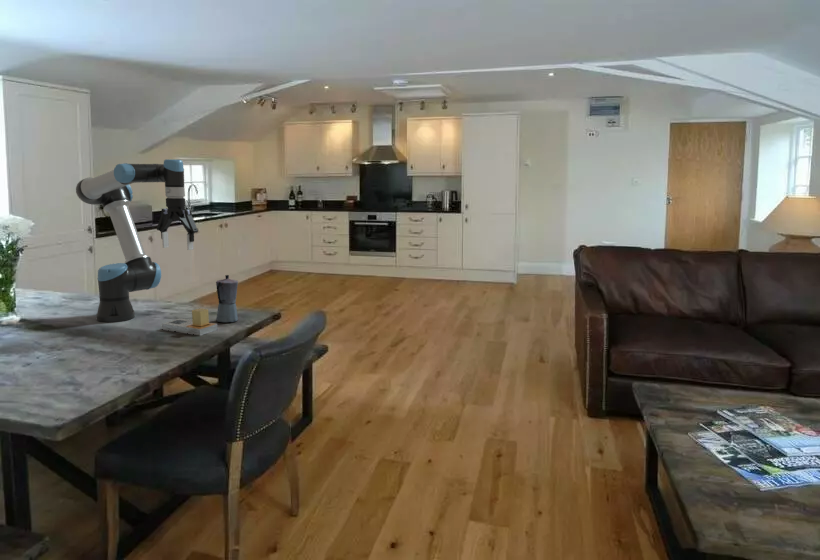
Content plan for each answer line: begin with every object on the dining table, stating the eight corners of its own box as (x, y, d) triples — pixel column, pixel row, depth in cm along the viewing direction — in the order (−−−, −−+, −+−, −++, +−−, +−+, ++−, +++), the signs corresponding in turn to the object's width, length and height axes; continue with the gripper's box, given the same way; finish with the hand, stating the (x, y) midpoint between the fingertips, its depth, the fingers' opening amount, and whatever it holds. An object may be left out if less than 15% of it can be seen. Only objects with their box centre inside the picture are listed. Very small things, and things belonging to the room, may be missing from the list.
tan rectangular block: (193, 332, 251) (191, 310, 249) (200, 329, 255) (199, 308, 253) (201, 333, 249) (200, 311, 248) (209, 330, 253) (208, 309, 252)
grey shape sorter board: (162, 329, 254) (161, 323, 254) (180, 324, 263) (180, 317, 263) (200, 335, 246) (199, 328, 245) (217, 329, 255) (217, 323, 254)
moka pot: (244, 317, 276) (243, 272, 272) (231, 326, 261) (229, 279, 257) (223, 316, 277) (221, 272, 273) (209, 325, 262) (207, 278, 258)
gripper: (145, 196, 259) (148, 247, 262) (191, 198, 248) (194, 251, 252) (159, 196, 265) (162, 245, 269) (205, 198, 255) (207, 249, 259)
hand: (178, 248), depth 261 cm, fingers open, 13 cm apart
